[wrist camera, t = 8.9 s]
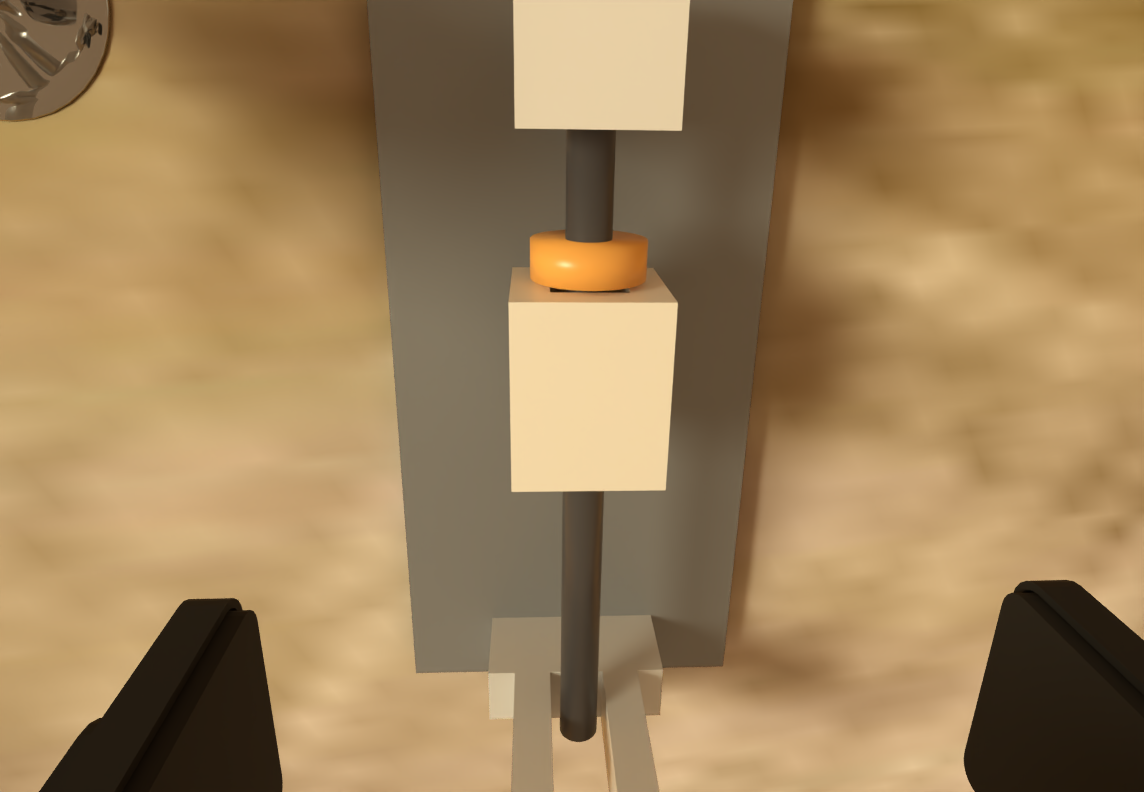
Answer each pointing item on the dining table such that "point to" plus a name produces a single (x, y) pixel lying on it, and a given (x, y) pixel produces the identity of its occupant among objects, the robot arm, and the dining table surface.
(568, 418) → the sleeve
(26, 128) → the dining table surface
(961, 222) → the dining table surface
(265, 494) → the dining table surface
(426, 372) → the board
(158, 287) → the dining table surface
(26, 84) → the wine glass
